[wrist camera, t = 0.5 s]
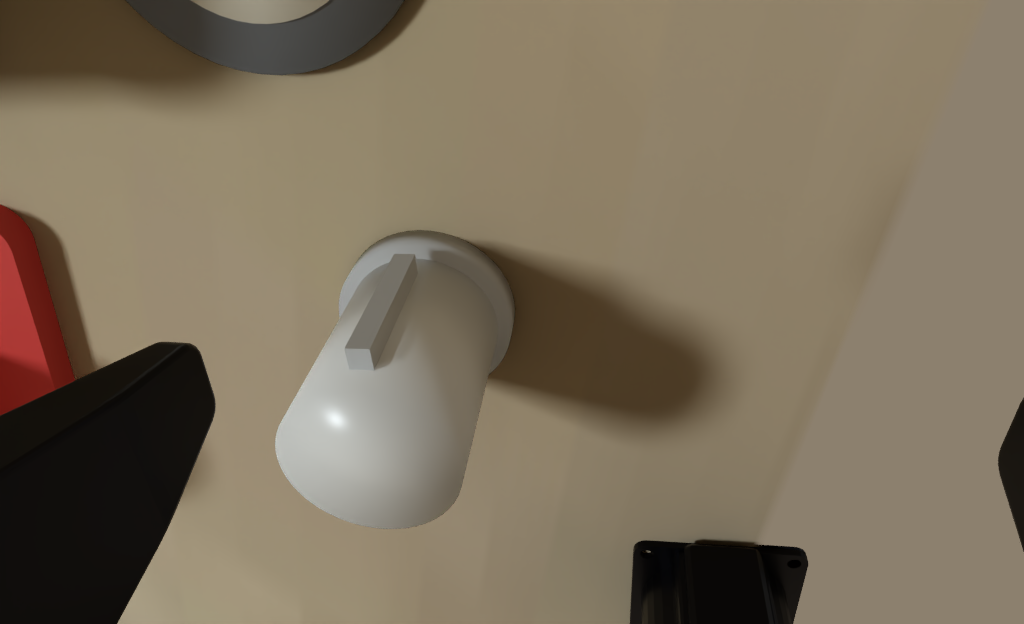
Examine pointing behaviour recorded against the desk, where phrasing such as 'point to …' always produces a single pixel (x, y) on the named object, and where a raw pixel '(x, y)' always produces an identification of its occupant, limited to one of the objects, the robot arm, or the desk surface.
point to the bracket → (26, 321)
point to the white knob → (399, 382)
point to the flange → (270, 30)
